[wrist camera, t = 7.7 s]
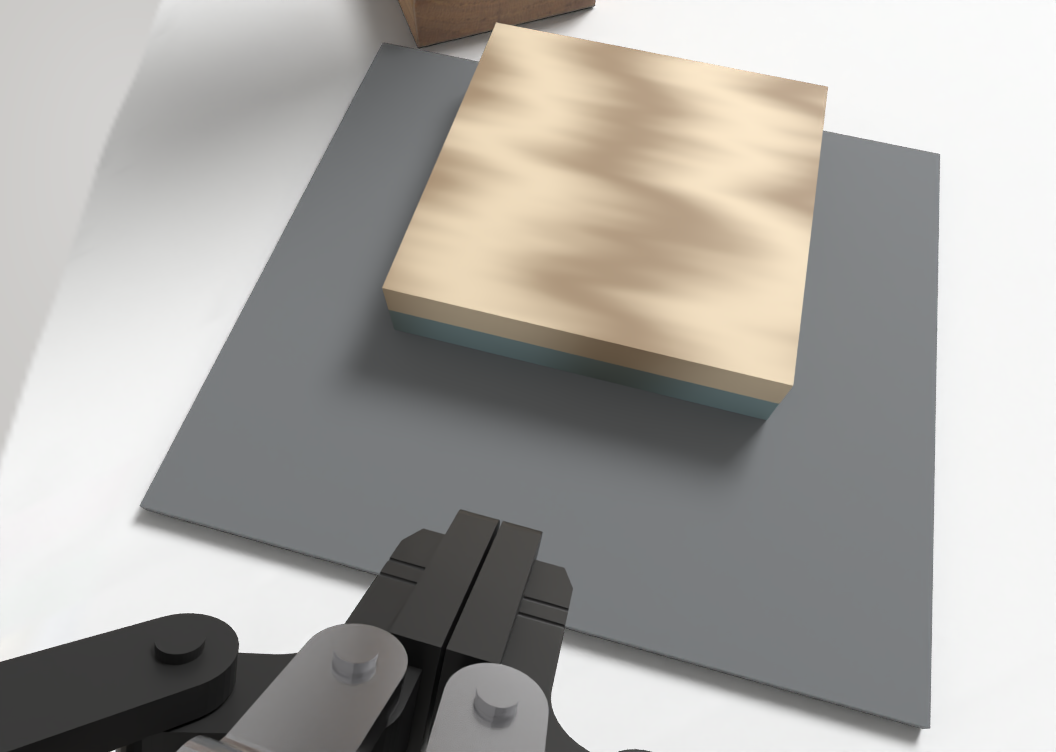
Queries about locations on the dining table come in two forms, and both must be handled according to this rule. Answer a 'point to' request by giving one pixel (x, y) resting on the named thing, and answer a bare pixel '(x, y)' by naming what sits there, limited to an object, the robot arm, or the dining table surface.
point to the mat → (598, 427)
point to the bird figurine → (476, 16)
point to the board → (620, 220)
